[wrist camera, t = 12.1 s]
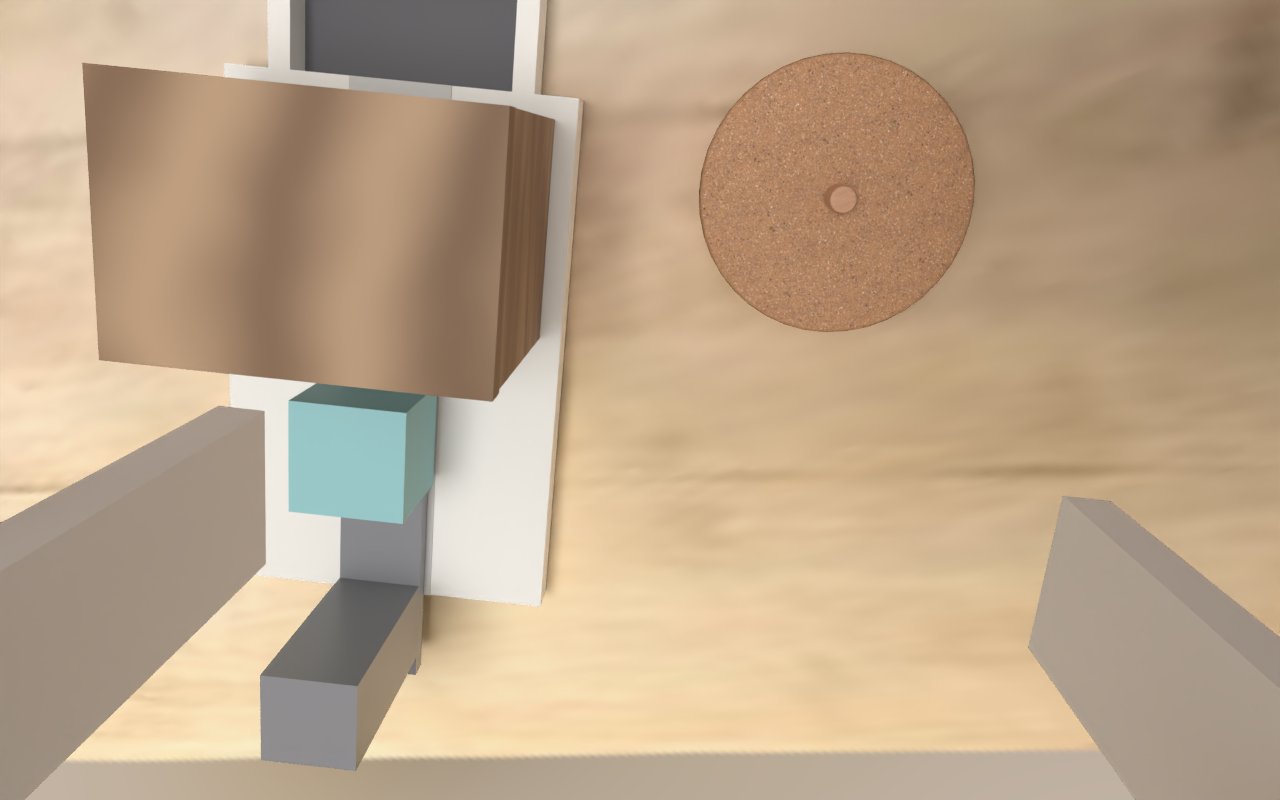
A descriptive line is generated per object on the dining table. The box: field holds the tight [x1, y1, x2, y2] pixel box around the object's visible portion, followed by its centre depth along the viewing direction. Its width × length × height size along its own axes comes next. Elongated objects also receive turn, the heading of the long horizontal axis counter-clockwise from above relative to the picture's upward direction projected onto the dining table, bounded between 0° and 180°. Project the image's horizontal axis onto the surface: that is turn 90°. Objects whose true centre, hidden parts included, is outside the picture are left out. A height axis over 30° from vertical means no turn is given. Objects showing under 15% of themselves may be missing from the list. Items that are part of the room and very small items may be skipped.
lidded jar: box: [699, 53, 975, 332], centre depth 39 cm, size 11×11×9 cm
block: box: [288, 383, 437, 524], centre depth 42 cm, size 5×5×5 cm
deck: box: [224, 0, 584, 607], centre depth 44 cm, size 16×32×2 cm, turn 174°
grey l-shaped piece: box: [260, 492, 428, 771], centre depth 41 cm, size 4×18×10 cm, turn 174°
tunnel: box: [82, 63, 555, 402], centre depth 37 cm, size 14×10×12 cm
